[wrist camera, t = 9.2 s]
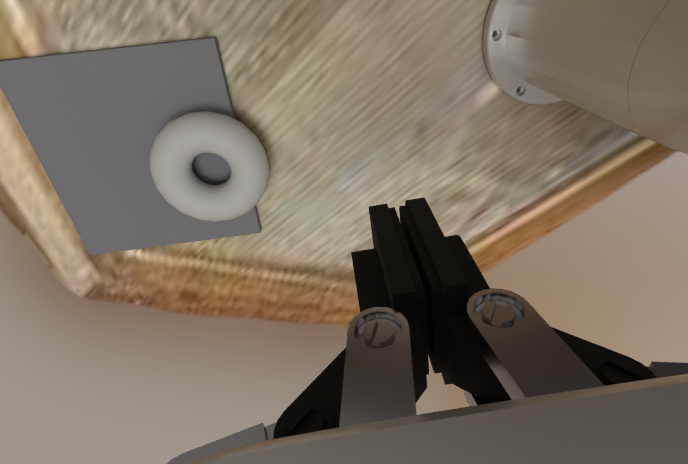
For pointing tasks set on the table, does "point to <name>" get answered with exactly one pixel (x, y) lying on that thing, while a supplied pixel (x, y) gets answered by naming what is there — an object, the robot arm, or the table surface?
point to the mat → (121, 136)
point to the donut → (218, 138)
